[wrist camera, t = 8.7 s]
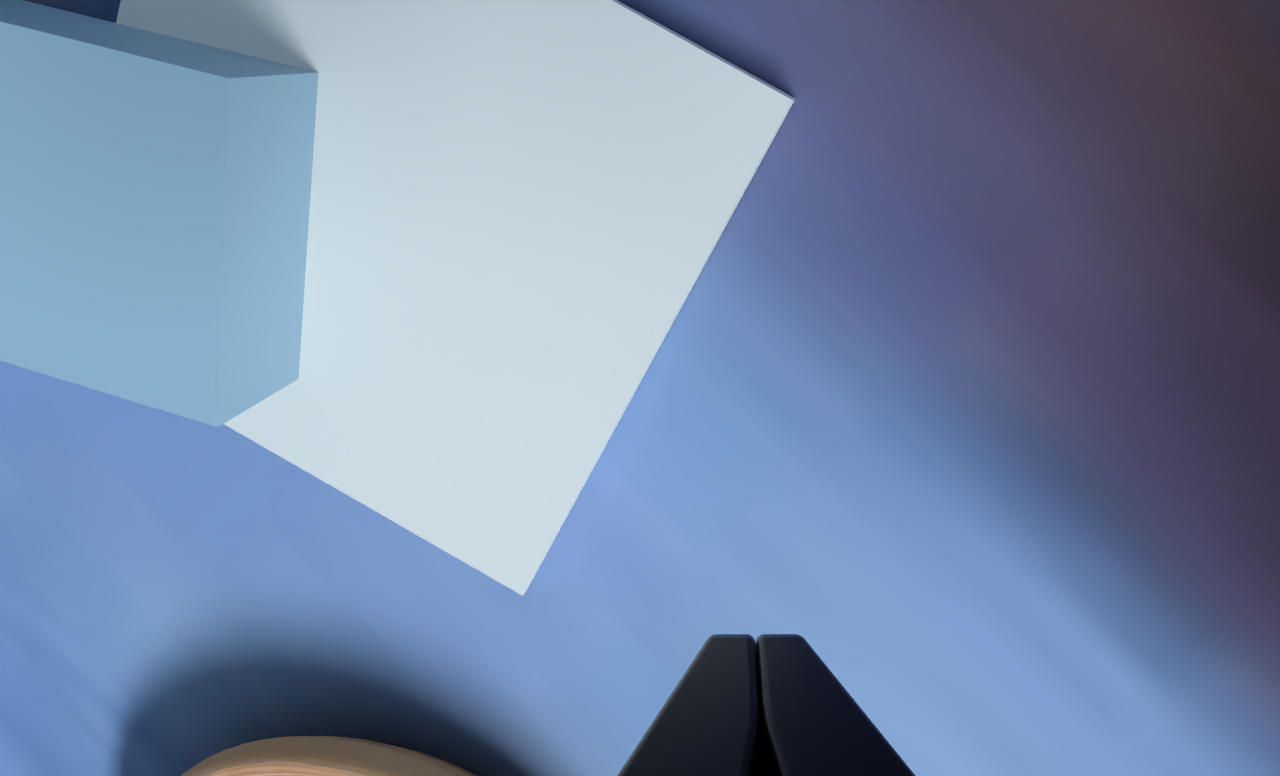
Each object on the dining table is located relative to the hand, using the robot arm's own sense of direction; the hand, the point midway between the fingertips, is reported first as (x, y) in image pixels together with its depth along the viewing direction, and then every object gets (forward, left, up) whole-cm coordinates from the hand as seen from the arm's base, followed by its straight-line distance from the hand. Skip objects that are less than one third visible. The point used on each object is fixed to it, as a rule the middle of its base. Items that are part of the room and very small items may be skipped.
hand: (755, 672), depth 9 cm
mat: (+9, +3, -12) cm, 15 cm away
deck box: (+11, +4, -10) cm, 15 cm away
